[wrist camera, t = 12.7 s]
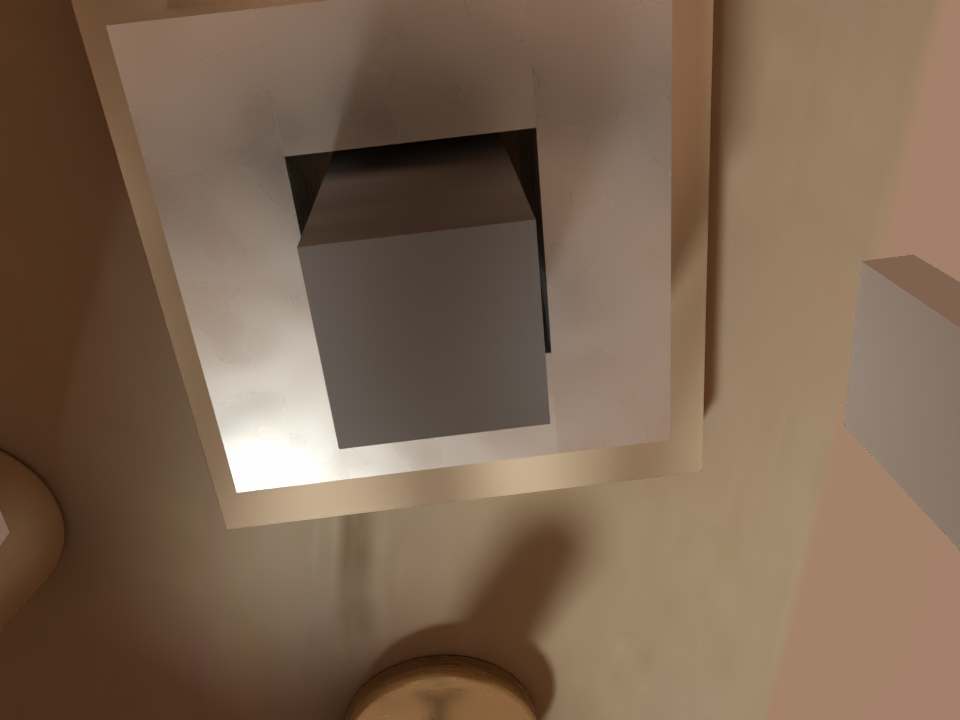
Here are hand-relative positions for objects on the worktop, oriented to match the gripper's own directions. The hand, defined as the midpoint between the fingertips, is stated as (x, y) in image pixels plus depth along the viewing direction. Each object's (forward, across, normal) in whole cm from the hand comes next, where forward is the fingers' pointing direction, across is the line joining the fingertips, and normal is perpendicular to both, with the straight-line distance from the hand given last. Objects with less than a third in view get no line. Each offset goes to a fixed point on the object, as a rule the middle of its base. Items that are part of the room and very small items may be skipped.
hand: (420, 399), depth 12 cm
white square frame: (+9, 0, 0) cm, 9 cm away
